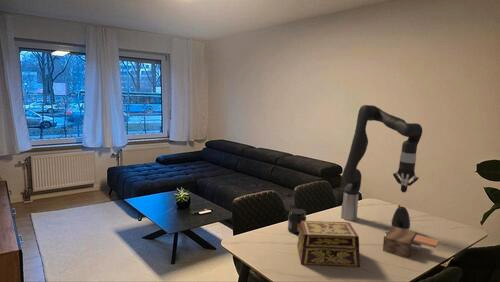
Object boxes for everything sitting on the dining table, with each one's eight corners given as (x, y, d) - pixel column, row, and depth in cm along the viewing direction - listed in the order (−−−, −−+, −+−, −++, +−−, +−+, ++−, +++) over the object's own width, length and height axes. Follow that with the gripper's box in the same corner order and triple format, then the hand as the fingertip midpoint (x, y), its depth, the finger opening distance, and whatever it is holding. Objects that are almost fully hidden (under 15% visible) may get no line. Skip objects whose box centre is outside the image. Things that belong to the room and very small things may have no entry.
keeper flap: (413, 239, 160) (436, 245, 154) (416, 234, 166) (438, 240, 160) (413, 241, 160) (435, 247, 154) (416, 236, 167) (438, 242, 161)
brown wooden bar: (383, 244, 171) (384, 234, 170) (386, 240, 175) (387, 230, 174) (418, 254, 160) (420, 243, 159) (421, 250, 165) (422, 239, 164)
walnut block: (382, 250, 165) (383, 236, 164) (391, 238, 179) (392, 225, 178) (408, 258, 158) (410, 243, 157) (416, 245, 172) (417, 231, 171)
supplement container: (309, 233, 185) (310, 213, 184) (293, 235, 181) (294, 215, 180) (299, 226, 195) (300, 207, 193) (284, 228, 191) (285, 209, 189)
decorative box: (349, 248, 167) (351, 221, 165) (360, 267, 148) (362, 237, 146) (297, 246, 168) (298, 219, 166) (300, 265, 150) (302, 234, 148)
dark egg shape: (405, 227, 195) (407, 204, 193) (412, 235, 185) (414, 210, 183) (388, 226, 196) (390, 203, 194) (394, 234, 186) (396, 209, 184)
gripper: (392, 159, 169) (388, 190, 172) (420, 164, 161) (415, 196, 164) (396, 157, 175) (392, 187, 178) (422, 161, 167) (418, 193, 170)
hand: (403, 192), depth 171 cm, fingers closed
